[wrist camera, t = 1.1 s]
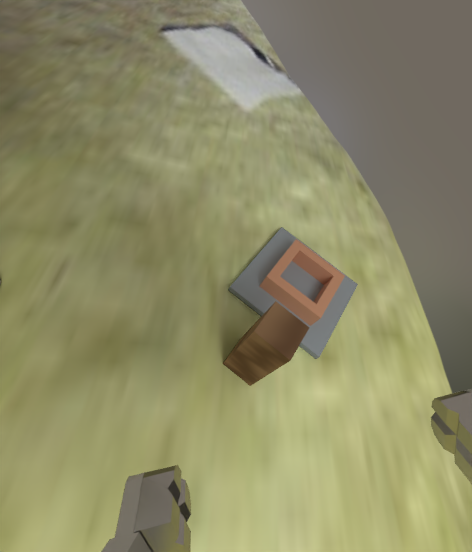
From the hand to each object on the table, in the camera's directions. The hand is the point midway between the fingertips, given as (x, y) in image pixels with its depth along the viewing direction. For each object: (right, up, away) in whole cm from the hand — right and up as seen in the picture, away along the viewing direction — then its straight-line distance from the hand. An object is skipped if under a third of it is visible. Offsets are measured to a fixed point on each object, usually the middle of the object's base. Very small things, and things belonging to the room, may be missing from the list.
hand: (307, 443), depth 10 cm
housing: (+7, +3, +41) cm, 42 cm away
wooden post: (-1, -6, +33) cm, 33 cm away
